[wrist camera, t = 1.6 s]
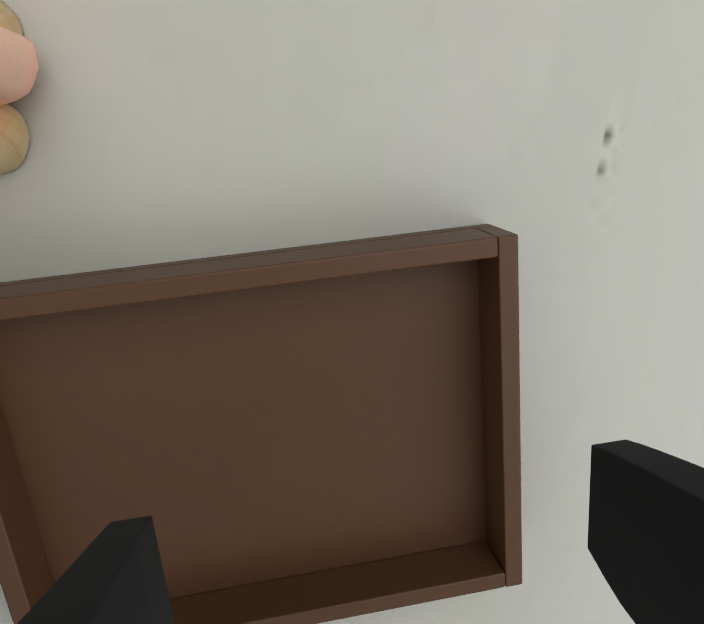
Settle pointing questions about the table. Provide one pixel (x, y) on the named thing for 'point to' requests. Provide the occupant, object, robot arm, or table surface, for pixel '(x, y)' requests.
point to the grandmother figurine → (14, 88)
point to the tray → (272, 425)
